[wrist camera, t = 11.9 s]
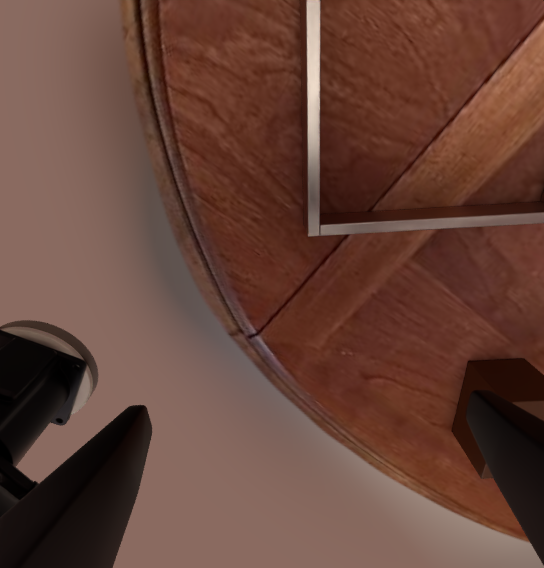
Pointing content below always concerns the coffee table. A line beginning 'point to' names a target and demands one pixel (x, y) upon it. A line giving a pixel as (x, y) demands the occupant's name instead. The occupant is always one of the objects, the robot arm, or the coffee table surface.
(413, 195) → the coffee table surface
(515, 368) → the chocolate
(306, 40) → the rectangular frame
